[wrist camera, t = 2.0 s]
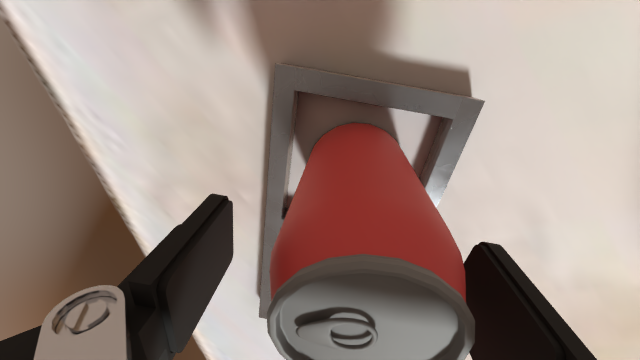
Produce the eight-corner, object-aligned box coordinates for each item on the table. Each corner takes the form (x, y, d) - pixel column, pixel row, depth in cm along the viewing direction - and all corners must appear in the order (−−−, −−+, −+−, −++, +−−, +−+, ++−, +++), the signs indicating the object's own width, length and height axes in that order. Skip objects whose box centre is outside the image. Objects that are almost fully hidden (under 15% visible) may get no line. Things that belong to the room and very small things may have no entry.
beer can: (304, 123, 16) (218, 246, 6) (405, 116, 15) (537, 246, 5) (314, 207, 19) (270, 394, 8) (400, 205, 18) (474, 411, 8)
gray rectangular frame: (472, 97, 14) (485, 101, 13) (374, 325, 25) (376, 341, 23) (281, 63, 15) (275, 63, 13) (263, 303, 25) (258, 317, 24)
